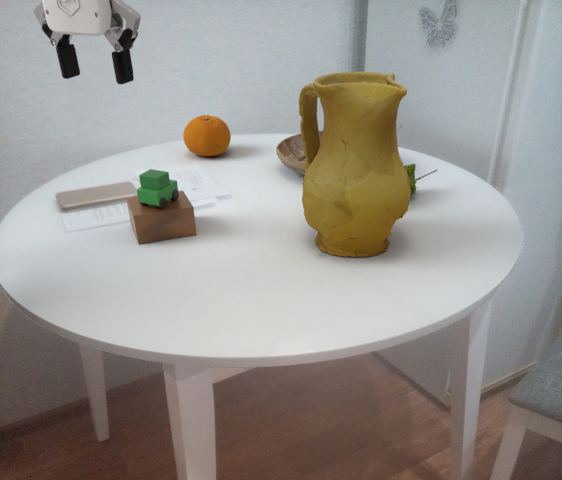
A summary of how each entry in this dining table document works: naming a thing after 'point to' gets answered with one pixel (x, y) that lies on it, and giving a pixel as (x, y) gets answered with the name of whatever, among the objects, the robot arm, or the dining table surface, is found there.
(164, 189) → the toy car
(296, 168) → the ceramic bowl
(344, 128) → the pitcher
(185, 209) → the wooden block
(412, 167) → the toy tank
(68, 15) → the robot arm
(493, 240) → the dining table surface
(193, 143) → the fruit
